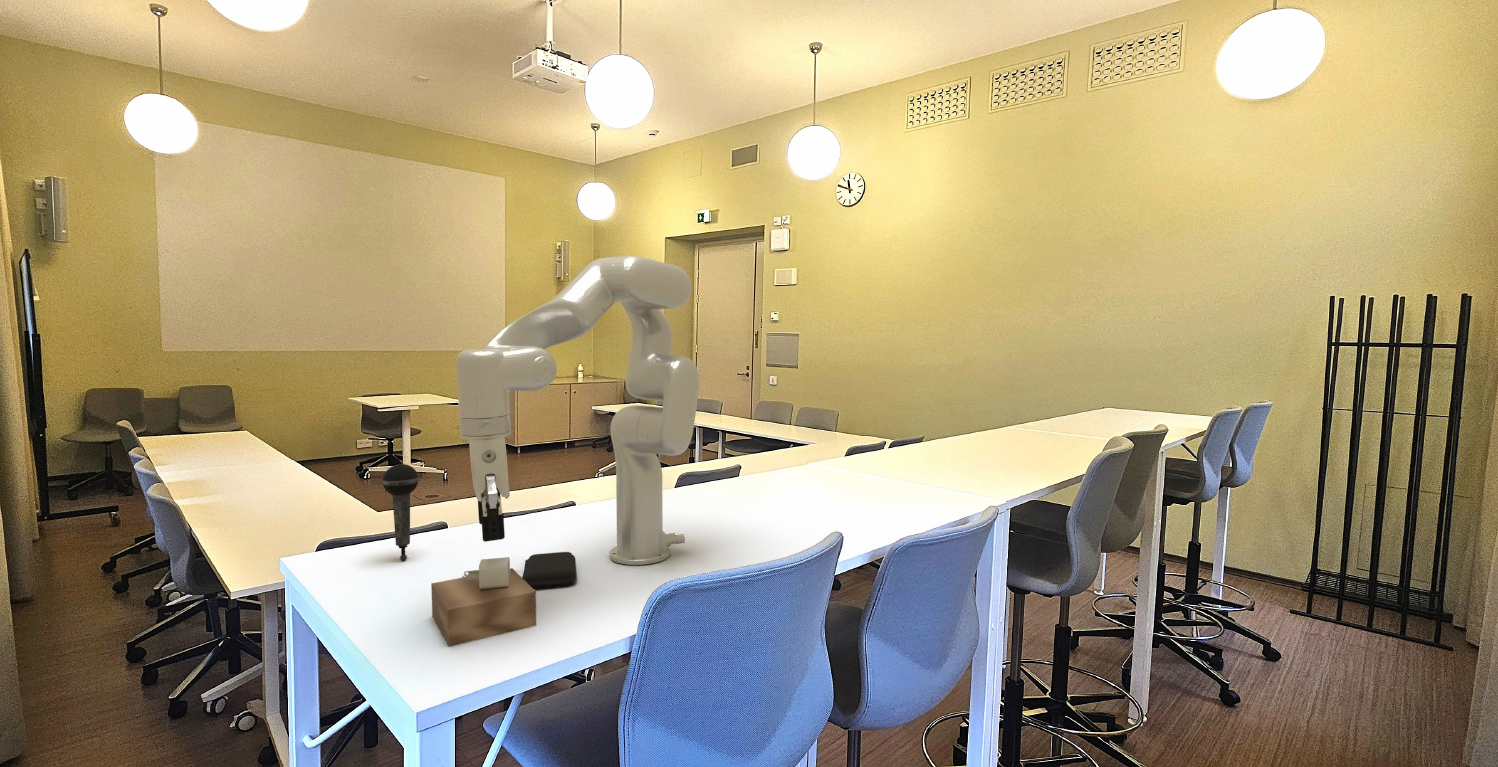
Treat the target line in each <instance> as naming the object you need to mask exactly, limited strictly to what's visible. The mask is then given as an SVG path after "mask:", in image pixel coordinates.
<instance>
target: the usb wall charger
mask: <svg viewBox="0 0 1498 767" xmlns="http://www.w3.org/2000/svg"><path fill="white" fill-rule="evenodd" d="M510 559H511V558H510V556H507V557H505V556H504V557H496V558H493V557H492V558H484V559H480V562H479V564H478V569H477V570H467V571H465V570H464V572H463V575H462V577H461V578H462V580H473V579H479V588H480V589H490V588H500V587H509V583H510V568H511V562H510V561H511V560H510ZM466 573H467V574H466ZM464 577H467V578H466V579H464Z"/></svg>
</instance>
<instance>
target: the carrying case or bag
mask: <svg viewBox="0 0 1498 767" xmlns="http://www.w3.org/2000/svg"><path fill="white" fill-rule="evenodd" d="M522 578H523V579H524V580H525V581H526V582H527V583H528V584H529V585H530V586H531V587H532V588H533V589H534V590H535V591H536V590H543V589H544V590H545V589H556V588H557V589H558V588H566V587H567V588H568V587H570V586H572V585H573V584H574V583H575V582H576V580H577V579H578V576H577V561H576V557H575V555H574V554H573V553H572V552H570V551H560V552H559V551H558V552H546V553H536V554H535V553H534V554H532V555H530V556H529V557H528V558H527V559H525V560H524V567H523V574H522Z"/></svg>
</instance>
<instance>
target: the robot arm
mask: <svg viewBox="0 0 1498 767" xmlns="http://www.w3.org/2000/svg"><path fill="white" fill-rule="evenodd" d="M691 295H692V282H691V278H690V277H689V275H688V274H687V272H686V271H685V270H684V269H683V268H681V267H679V266H678V265H675V264H670V263H666V262H663V261H660V260H655V259H651V258H647V257H643V256H639V255H638V256H637V255H622V256H612V257H610V256H609V257H601V258H596V259H594V260H593V261H591V262H590V263H588V264H587V265H586V266H585V267H584V268H583V269H582V270H581V271H580V272H579V273H578V274H577V275H576V276H575V277H574V278H573V279H572V280H571V281H570V282H569V283H568V284H567V285H566V286H565V287H563V289H562V290H561V291H559V293H558V294H557V295H556V296H555V297H554V298H553V299H551V300H549V301H548V302H546V303H544V304H542V305H540V306H538V307H536V308H534V310H532V311H530V312H527V314H524V315H523V316H521V317H519V318H517V319H515V320H514V321H512V322H511V323H509V324H508V325H507V326H506V327H504V328H503V329H502V330H500V331H499V332H498V333H497V334H496V335H495V336H494V337H493V338H492V339H491V340H490V341H489V342H488V343H487V344H486V345H485V346H484V348H483V349H482V348H481V349H467V350H463V351H460V352H459V353H458V354H457V356H456V359H455V365H456V366H455V367H456V382H457V383H456V384H457V399H458V417H459V432H460V434H459V435H460V439H462V440H467V441H468V444H469V457H470V458H469V459H470V470H471V477H472V484H473V489H474V493H475V497H476V500H477V509H478V511H477V512H478V523H479V525H481V533H482V534H481V535H482V541H483V542H485V543H487V542H493V541H501V540H504V539H505V537H506V536H505V532H506V531H505V519H504V518H505V516H504V513H503V508H502V507H503V506H502V498H505V499H506V500H507V499H509V498H510V496H511V494H510V485H509V471H508V468H509V467H508V456H507V448H506V445H507V444H506V439H505V437H509V436H511V434H512V430H511V414H510V413H511V412H510V411H511V410H510V392H512V391H513V392H517V391H518V392H520V391H521V392H523V391H524V392H536V391H540V390H543V389H545V388H546V387H548V386H550V384H551V383H552V382H553V381H554V379H555V378H556V375H557V371H558V370H557V369H558V366H557V362H556V360H555V358H554V356H553V354H551V353H550V352H549V351H547V349H548V348H551V347H553V346H556V345H560V344H564V343H568V342H570V341H574V340H576V339H578V338H581V337H582V336H585V335H586V334H588V333H590V331H591V329H593V328H594V327H595V325H597V323H598V322H599V321H601V318H603V317H604V316H605V315H606V314H607V312H608V311H609V310H610V309H611V308H612V307H613V306H614V305H615V304H616V303H620V305H621V306H622V308H623V309H624V311H625V313H626V314H627V317H628V318H629V322H630V324H631V332H632V333H631V334H632V335H631V344H630V349H629V350H630V351H629V356H628V362H627V363H628V364H627V369H626V376H625V387H626V391H627V393H628V394H629V395H630V396H632V397H633V398H635V399H639V400H647V401H657V402H662V403H663V404H662V407H661V406H660V407H659V406H652V405H651V406H649V405H648V406H647V405H629V406H625V407H622V408H620V409H619V410H617V412H616V413H615V414H614V416H613V417H612V419H611V423H610V438H611V441H612V447H613V452H614V456H615V457H614V459H615V473H616V474H615V476H616V478H615V479H616V481H615V482H616V484H615V488H616V489H615V490H616V491H615V492H616V494H615V496H616V497H615V498H616V502H615V503H616V546H614V547H612V548H611V549H610V550H609V559H610V560H611V561H613V562H614V563H618V564H622V565H630V566H642V565H651V564H655V563H659V562H661V561H664V560H666V559H668V558H669V557H670V556H671V548H670V547H672V545H679V544H681V545H682V544H685V543H686V536H685V534H684V533H680V534H676V533H675V532H671V533H665V531H663V530H664V529H663V524H664V523H663V514H664V512H663V509H664V508H663V468H662V465H661V462H660V459H659V457H658V455H661V456H670V457H671V456H678V455H682V454H683V453H684V452H685V451H686V450H688V448H689V446H690V443H691V441H692V438H693V434H694V428H695V420H696V414H697V408H698V400H699V392H700V375H699V374H700V373H699V369H698V367H697V365H696V364H695V362H694V361H693V360H692V359H690V358H689V357H687V356H684V355H677V354H676V355H675V354H672V347H673V339H674V338H673V337H674V334H673V330H672V325H671V324H670V321H669V319H668V318H667V316H666V315H665V313H664V311H663V310H672V309H673V310H674V309H676V310H677V309H679V308H682V307H684V306H685V305H686V304H687V303H688V301H689V300H690V299H691V298H690V297H691Z"/></svg>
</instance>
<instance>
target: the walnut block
mask: <svg viewBox="0 0 1498 767" xmlns="http://www.w3.org/2000/svg"><path fill="white" fill-rule="evenodd" d="M466 578H467V577H466V576H465V577H464V579H466ZM536 594H537V592H536V589H535V590H534V589H533V588H532V587H531V586H530V585H529V584H528V583H527V582H526V581H525V580H524V579H523V576H521V575H520V574H519V573H518V572H517V571H516V570H515V569H514V568H512V567H510V583H509V587H500V588H490V589H480V588H479V579H473V580H462V577H457V578H452V579H447V580H442V581H437V582H432V583H431V617H432V619H433V622H435V625H436V626H437V629H438V630H439V632H440V634H441V635H442V638H443V639H444V641H445V643H446V644H447V646H448V647H453V646H458V645H462V644H467V643H471V642H474V641H479V640H483V639H486V638H491V637H494V636H495V637H496V636H499V635H503V634H507V633H511V632H516V631H519V630H523V629H528V628H533V627H535V626H537V598H536V596H537V595H536Z"/></svg>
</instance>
